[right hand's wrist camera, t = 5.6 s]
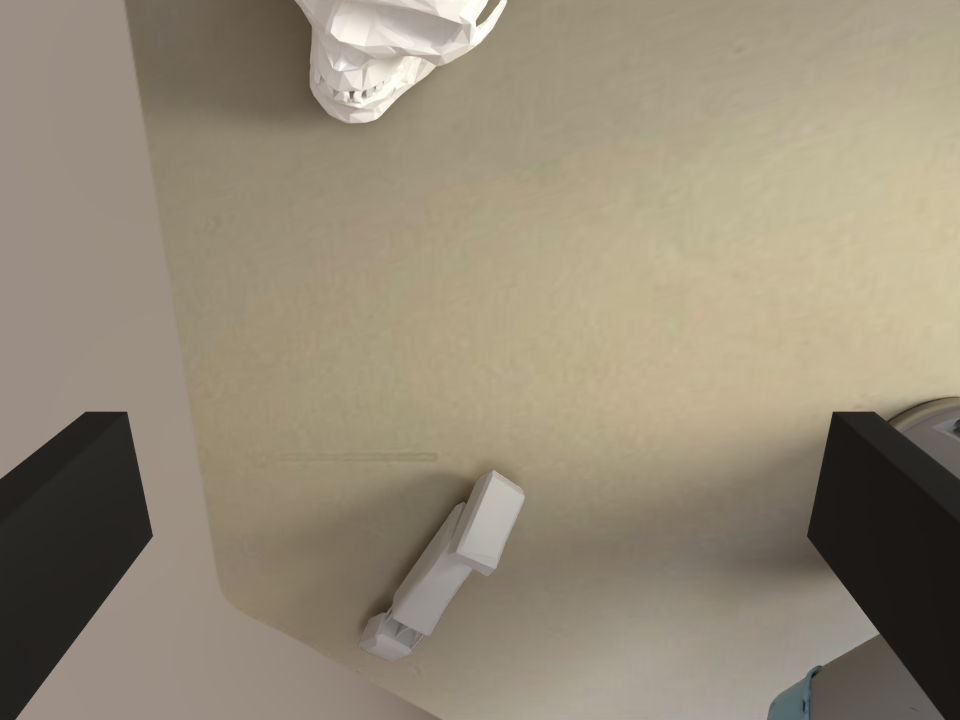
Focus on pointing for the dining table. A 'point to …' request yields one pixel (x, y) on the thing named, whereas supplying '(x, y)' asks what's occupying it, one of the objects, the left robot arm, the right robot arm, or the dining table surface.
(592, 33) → the dining table surface
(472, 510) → the clamp
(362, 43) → the skull
